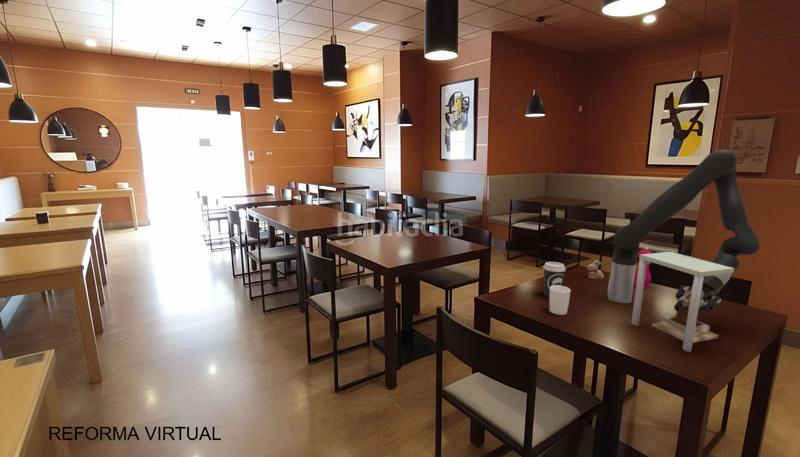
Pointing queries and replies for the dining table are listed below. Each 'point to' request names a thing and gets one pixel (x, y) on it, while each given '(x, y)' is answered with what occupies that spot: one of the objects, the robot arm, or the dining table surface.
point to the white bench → (685, 265)
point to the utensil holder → (682, 314)
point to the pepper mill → (647, 276)
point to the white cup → (559, 299)
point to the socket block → (679, 330)
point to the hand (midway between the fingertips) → (683, 313)
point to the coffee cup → (552, 275)
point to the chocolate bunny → (594, 270)
